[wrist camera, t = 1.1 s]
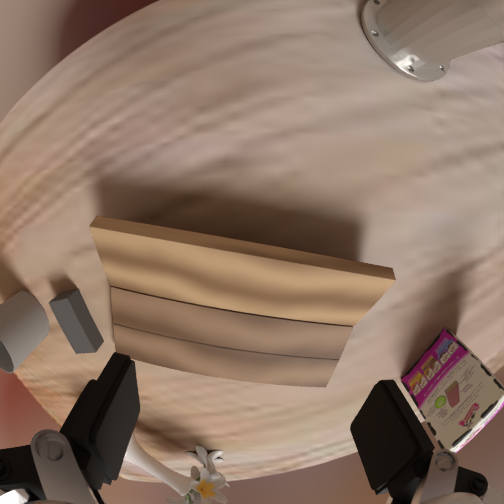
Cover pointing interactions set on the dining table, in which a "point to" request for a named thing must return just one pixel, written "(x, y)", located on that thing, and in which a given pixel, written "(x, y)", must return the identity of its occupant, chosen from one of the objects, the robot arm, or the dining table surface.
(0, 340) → the cup
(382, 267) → the plank
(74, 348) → the block
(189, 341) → the laid board
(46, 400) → the dining table surface
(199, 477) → the flower vase
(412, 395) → the candy bar box
